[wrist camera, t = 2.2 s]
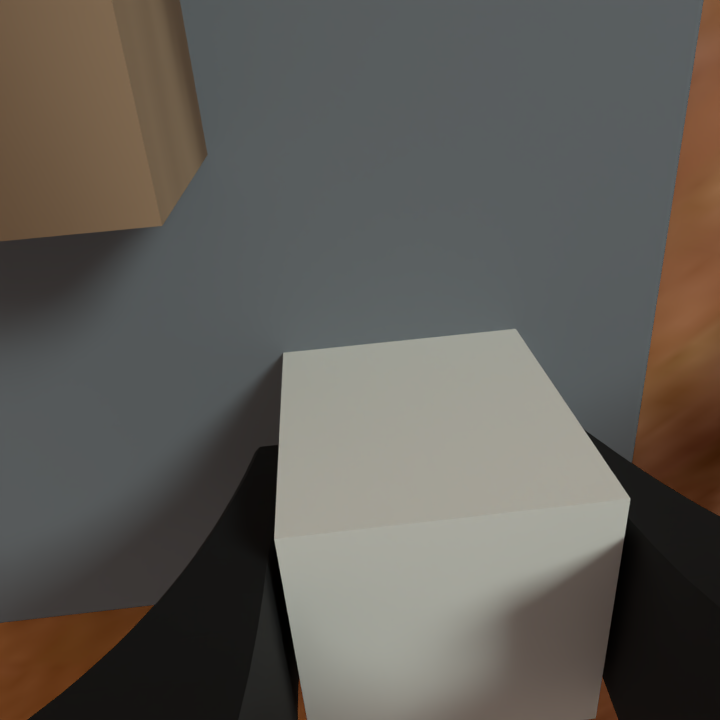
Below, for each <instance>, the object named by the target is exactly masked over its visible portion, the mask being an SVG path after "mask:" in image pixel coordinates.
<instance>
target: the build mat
mask: <svg viewBox="0 0 720 720" xmlns="http://www.w3.org/2000/svg"><path fill="white" fill-rule="evenodd" d="M180 4H181V10H182V15H183V21H184V26H185V32H186V37H187V43H188V49H189V54H190V60H191V65H192V71H193V76H194V82H195V87H196V93H197V99H198V104H199V110H200V115H201V121H202V126H203V132H204V137H205V143H206V149H207V154H208V155H207V156H206V158H205V160H204V161H203V163H202V164H201V166H200V167H199V169H198V171H197V172H196V174H195V175H194V177H193V178H192V180H191V182H190V183H189V185H188V186H187V188H186V189H185V191H184V193H183V194H182V196H181V197H180V199H179V200H178V202H177V204H176V205H175V207H174V208H173V210H172V211H171V213H170V214H169V216H168V218H167V219H166V221H165V222H164V224H163V225H162V226H156V227H146V228H135V229H125V230H114V231H104V232H93V233H83V234H72V235H62V236H51V237H41V238H30V239H20V240H9V241H0V623H3V622H11V621H20V620H28V619H37V618H46V617H54V616H63V615H72V614H80V613H89V612H97V611H106V610H115V609H123V608H132V607H141V606H149V605H155V604H156V603H157V602H158V601H159V599H160V598H161V597H162V596H163V595H164V594H165V592H166V591H167V590H168V589H169V588H170V586H171V585H172V584H173V583H174V582H175V580H176V579H177V578H178V577H179V575H180V574H181V573H182V571H183V570H184V569H185V568H186V566H187V565H188V564H189V562H190V561H191V560H192V558H193V557H194V555H195V554H196V553H197V551H198V550H199V548H200V547H201V545H202V544H203V542H204V541H205V539H206V538H207V536H208V535H209V534H210V532H211V531H212V529H213V528H214V526H215V525H216V523H217V521H218V520H219V518H220V517H221V515H222V513H223V512H224V510H225V508H226V506H227V505H228V503H229V501H230V500H231V498H232V496H233V495H234V493H235V491H236V489H237V487H238V486H239V484H240V482H241V480H242V478H243V476H244V474H245V472H246V470H247V468H248V466H249V464H250V462H251V460H252V457H253V455H254V453H255V452H256V450H257V449H258V448H259V447H263V446H272V445H279V430H280V410H281V389H282V369H283V353H286V352H295V351H305V350H315V349H324V348H334V347H344V346H354V345H363V344H373V343H383V342H392V341H402V340H412V339H422V338H431V337H441V336H451V335H460V334H470V333H480V332H490V331H499V330H509V329H516V330H517V331H518V333H519V334H520V336H521V337H522V339H523V340H524V342H525V343H526V345H527V346H528V348H529V349H530V351H531V352H532V354H533V355H534V357H535V358H536V360H537V361H538V363H539V364H540V365H541V367H542V368H543V370H544V371H545V373H546V374H547V376H548V377H549V379H550V380H551V382H552V383H553V385H554V386H555V388H556V389H557V391H558V392H559V394H560V395H561V397H562V398H563V400H564V401H565V402H566V404H567V405H568V407H569V408H570V410H571V411H572V413H573V414H574V416H575V417H576V419H577V420H578V422H579V423H580V425H581V426H582V428H583V429H584V430H586V431H587V432H588V433H590V434H591V435H593V436H594V437H595V438H597V439H598V440H600V441H601V442H602V443H604V444H605V445H607V446H608V447H609V448H611V449H612V450H614V451H615V452H616V453H618V454H619V455H621V456H622V457H624V458H625V459H626V460H628V461H629V462H631V463H632V459H633V452H634V446H635V439H636V433H637V426H638V420H639V414H640V407H641V401H642V394H643V388H644V381H645V375H646V368H647V362H648V355H649V349H650V342H651V336H652V330H653V323H654V317H655V310H656V304H657V297H658V291H659V284H660V278H661V271H662V265H663V258H664V252H665V245H666V239H667V233H668V226H669V220H670V213H671V207H672V200H673V194H674V187H675V181H676V174H677V168H678V161H679V155H680V149H681V142H682V136H683V129H684V123H685V116H686V110H687V103H688V97H689V90H690V84H691V77H692V71H693V65H694V58H695V52H696V45H697V39H698V32H699V26H700V19H701V13H702V6H703V0H180Z"/></svg>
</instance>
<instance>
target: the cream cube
mask: <svg viewBox="0 0 720 720" xmlns="http://www.w3.org/2000/svg"><path fill="white" fill-rule="evenodd" d="M629 505H630V497H629V496H628V494H627V493H626V491H625V490H624V488H623V487H622V485H621V484H620V482H619V481H618V479H617V478H616V476H615V475H614V473H613V472H612V471H611V469H610V468H609V466H608V465H607V463H606V462H605V460H604V459H603V457H602V456H601V454H600V453H599V451H598V450H597V448H596V447H595V445H594V444H593V442H592V441H591V439H590V438H589V436H588V435H587V434H586V432H585V431H584V429H583V428H582V426H581V425H580V423H579V422H578V420H577V419H576V417H575V416H574V414H573V413H572V411H571V410H570V408H569V407H568V405H567V404H566V402H565V401H564V400H563V398H562V397H561V395H560V394H559V392H558V391H557V389H556V388H555V386H554V385H553V383H552V382H551V380H550V379H549V377H548V376H547V374H546V373H545V371H544V370H543V368H542V367H541V365H540V364H539V363H538V361H537V360H536V358H535V357H534V355H533V354H532V352H531V351H530V349H529V348H528V346H527V345H526V343H525V342H524V340H523V339H522V337H521V336H520V334H519V333H518V331H517V330H516V329H509V330H499V331H490V332H480V333H470V334H460V335H451V336H441V337H431V338H422V339H412V340H402V341H392V342H383V343H373V344H363V345H354V346H344V347H334V348H324V349H315V350H305V351H295V352H286V353H283V369H282V389H281V410H280V430H279V451H278V471H277V491H276V512H275V532H274V541H275V546H276V552H277V557H278V563H279V568H280V574H281V579H282V585H283V590H284V596H285V601H286V607H287V612H288V617H289V623H290V628H291V634H292V639H293V645H294V650H295V656H296V661H297V667H298V672H299V678H300V683H301V689H302V694H303V700H304V705H305V711H306V716H307V720H587V719H595V718H596V713H597V707H598V701H599V694H600V688H601V682H602V675H603V669H604V663H605V657H606V650H607V644H608V638H609V631H610V625H611V619H612V612H613V606H614V600H615V593H616V587H617V581H618V575H619V568H620V562H621V556H622V549H623V543H624V537H625V530H626V524H627V518H628V512H629Z"/></svg>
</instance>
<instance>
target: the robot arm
mask: <svg viewBox="0 0 720 720" xmlns="http://www.w3.org/2000/svg"><path fill="white" fill-rule="evenodd" d="M584 431H585V432H586V434H587V435H588V436H589V438H590V439H591V441H592V442H593V444H594V445H595V447H596V448H597V450H598V451H599V453H600V454H601V456H602V457H603V459H604V460H605V462H606V463H607V465H608V466H609V468H610V469H611V471H612V472H613V473H614V475H615V476H616V478H617V479H618V481H619V482H620V484H621V485H622V487H623V488H624V490H625V491H626V493H627V494H628V496H629V497H630V505H629V512H628V518H627V524H626V530H625V537H624V543H623V549H622V556H621V562H620V568H619V575H618V581H617V587H616V593H615V600H614V606H613V612H612V619H611V625H610V631H609V638H608V644H607V650H606V657H605V663H604V669H603V675H602V676H603V679H604V682H605V684H606V687H607V690H608V693H609V695H610V698H611V701H612V703H613V706H614V709H615V711H616V714H617V717H618V719H619V720H720V516H718V515H716V514H714V513H712V512H710V511H709V510H707V509H705V508H703V507H701V506H700V505H698V504H696V503H694V502H693V501H691V500H689V499H688V498H686V497H684V496H683V495H681V494H679V493H678V492H676V491H674V490H673V489H671V488H669V487H668V486H666V485H664V484H663V483H661V482H660V481H658V480H657V479H655V478H653V477H652V476H650V475H649V474H647V473H646V472H644V471H643V470H641V469H640V468H638V467H637V466H635V465H634V464H632V463H631V462H629V461H628V460H626V459H625V458H624V457H622V456H621V455H619V454H618V453H616V452H615V451H614V450H612V449H611V448H609V447H608V446H607V445H605V444H604V443H602V442H601V441H600V440H598V439H597V438H595V437H594V436H593V435H591V434H590V433H588V432H587V431H586V430H584ZM278 451H279V445H272V446H263V447H259V448H258V449H257V450H256V452H255V453H254V455H253V457H252V460H251V462H250V464H249V466H248V468H247V470H246V472H245V474H244V476H243V478H242V480H241V482H240V484H239V486H238V487H237V489H236V491H235V493H234V495H233V496H232V498H231V500H230V501H229V503H228V505H227V506H226V508H225V510H224V512H223V513H222V515H221V517H220V518H219V520H218V521H217V523H216V525H215V526H214V528H213V529H212V531H211V532H210V534H209V535H208V536H207V538H206V539H205V541H204V542H203V544H202V545H201V547H200V548H199V550H198V551H197V553H196V554H195V555H194V557H193V558H192V560H191V561H190V562H189V564H188V565H187V566H186V568H185V569H184V570H183V571H182V573H181V574H180V575H179V577H178V578H177V579H176V580H175V582H174V583H173V584H172V585H171V586H170V588H169V589H168V590H167V591H166V592H165V594H164V595H163V596H162V597H161V598H160V599H159V601H158V602H157V603H156V604H155V605H154V606H153V607H152V608H151V609H150V610H149V612H148V613H147V614H146V615H145V616H144V617H143V618H142V619H141V620H140V621H139V622H138V623H137V625H136V626H135V627H134V628H133V629H132V630H131V631H130V632H129V633H128V634H127V635H126V636H125V637H124V638H123V639H122V640H121V641H120V642H119V643H118V644H117V645H116V646H115V647H114V648H113V649H112V650H110V651H109V652H108V653H107V654H106V655H105V656H104V657H103V658H102V659H101V660H100V661H98V662H97V663H96V664H95V665H94V666H93V667H92V668H91V669H90V670H88V671H87V672H86V673H85V674H84V675H83V676H82V677H80V678H79V679H78V680H77V681H76V682H75V683H73V684H72V685H71V686H70V687H69V688H67V689H66V690H65V691H64V692H63V693H61V694H60V695H59V696H58V697H56V698H55V699H54V700H52V701H51V702H50V703H49V704H47V705H46V706H45V707H43V708H42V709H41V710H39V711H38V712H37V713H36V714H34V715H33V716H32V717H30V718H29V719H28V720H298V683H299V672H298V667H297V661H296V656H295V650H294V645H293V639H292V634H291V628H290V623H289V617H288V612H287V607H286V601H285V596H284V590H283V585H282V579H281V574H280V568H279V563H278V557H277V552H276V546H275V541H274V532H275V512H276V491H277V471H278Z"/></svg>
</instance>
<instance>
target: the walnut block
mask: <svg viewBox="0 0 720 720" xmlns="http://www.w3.org/2000/svg"><path fill="white" fill-rule="evenodd" d="M207 155H208V154H207V149H206V143H205V137H204V132H203V126H202V121H201V115H200V110H199V104H198V99H197V93H196V87H195V82H194V76H193V71H192V65H191V60H190V54H189V49H188V43H187V37H186V32H185V26H184V21H183V15H182V10H181V4H180V0H0V241H9V240H20V239H30V238H41V237H51V236H62V235H72V234H83V233H93V232H104V231H114V230H125V229H135V228H146V227H156V226H162V225H163V224H164V222H165V221H166V219H167V218H168V216H169V214H170V213H171V211H172V210H173V208H174V207H175V205H176V204H177V202H178V200H179V199H180V197H181V196H182V194H183V193H184V191H185V189H186V188H187V186H188V185H189V183H190V182H191V180H192V178H193V177H194V175H195V174H196V172H197V171H198V169H199V167H200V166H201V164H202V163H203V161H204V160H205V158H206V156H207Z"/></svg>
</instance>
